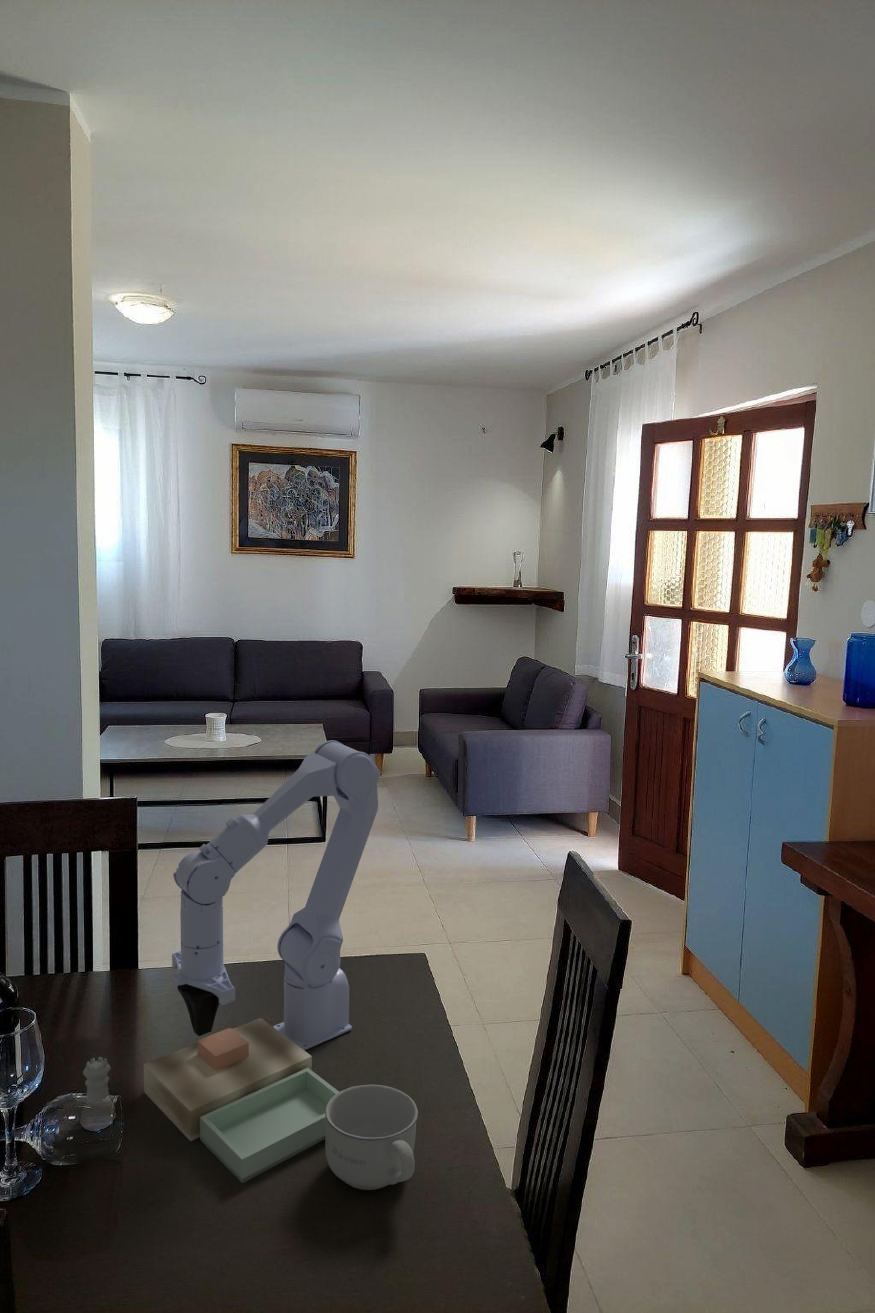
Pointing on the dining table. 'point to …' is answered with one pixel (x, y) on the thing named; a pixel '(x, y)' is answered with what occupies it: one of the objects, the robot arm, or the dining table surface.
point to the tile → (222, 1048)
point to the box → (268, 1124)
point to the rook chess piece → (97, 1079)
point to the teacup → (371, 1136)
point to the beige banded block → (220, 1076)
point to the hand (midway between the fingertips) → (202, 1032)
